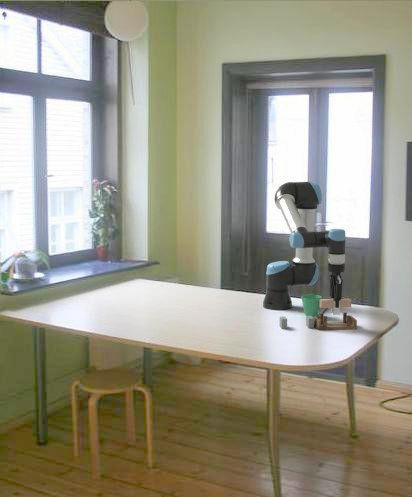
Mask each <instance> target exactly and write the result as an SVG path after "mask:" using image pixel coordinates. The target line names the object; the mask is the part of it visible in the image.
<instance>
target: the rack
mask: <svg viewBox="0 0 412 497" xmlns="http://www.w3.org/2000/svg"><path fill="white" fill-rule="evenodd" d="M319 313H320V316H319V318H318V316H314V328H316V329H317V330H318V331H332V330H333V331H334V330H335V331H336V330H338V331H339V330H340V329H341V330H357V329H358V325H357V324H358V320H357V319H356V318H355V317H354V316H352V315H350V314H347V312H346V311H344V312H342V321H335V322H333V321H332V322H331V321H329V322H328V316H327V315H325V313H322V312H319Z"/></svg>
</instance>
